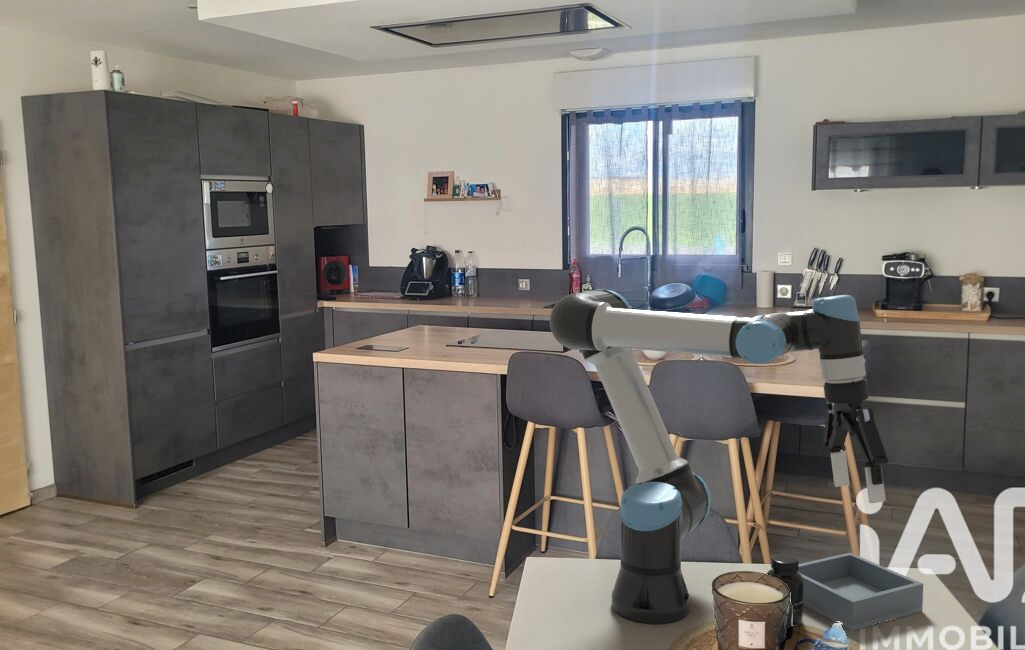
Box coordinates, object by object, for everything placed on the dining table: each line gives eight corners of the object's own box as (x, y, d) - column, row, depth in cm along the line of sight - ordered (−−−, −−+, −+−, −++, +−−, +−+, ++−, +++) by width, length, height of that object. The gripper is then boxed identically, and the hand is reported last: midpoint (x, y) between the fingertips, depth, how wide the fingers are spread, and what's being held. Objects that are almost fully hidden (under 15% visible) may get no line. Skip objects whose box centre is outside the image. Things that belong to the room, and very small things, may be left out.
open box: (782, 594, 172) (783, 567, 171) (849, 577, 179) (849, 552, 179) (852, 631, 156) (853, 602, 155) (922, 611, 163) (923, 583, 163)
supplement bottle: (804, 630, 156) (806, 566, 155) (766, 627, 158) (767, 564, 157) (800, 613, 163) (801, 553, 162) (763, 610, 164) (764, 550, 163)
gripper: (899, 382, 144) (915, 505, 145) (833, 371, 169) (847, 476, 170) (857, 389, 144) (872, 512, 145) (797, 376, 169) (810, 482, 170)
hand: (859, 493), depth 157 cm, fingers open, 13 cm apart
